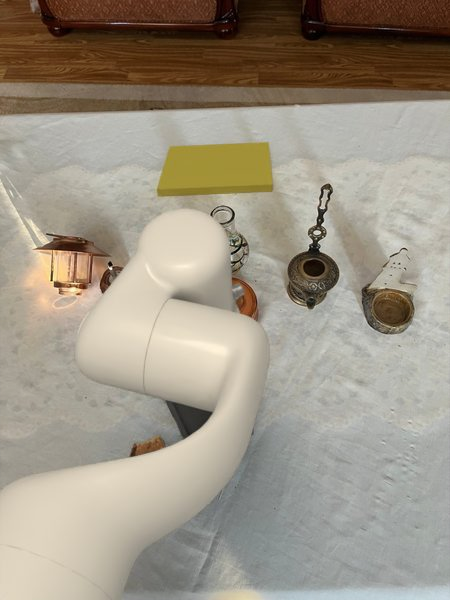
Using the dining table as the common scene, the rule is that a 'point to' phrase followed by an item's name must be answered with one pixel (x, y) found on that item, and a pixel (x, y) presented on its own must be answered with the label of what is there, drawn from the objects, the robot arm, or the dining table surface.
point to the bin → (188, 417)
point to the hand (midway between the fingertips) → (206, 379)
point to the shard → (147, 446)
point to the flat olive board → (216, 169)
